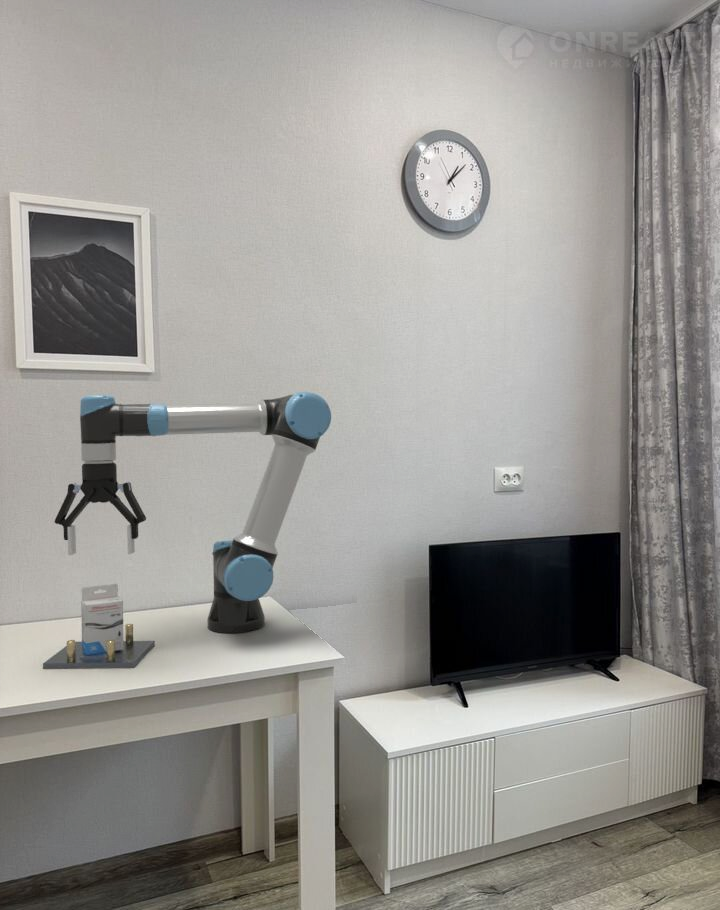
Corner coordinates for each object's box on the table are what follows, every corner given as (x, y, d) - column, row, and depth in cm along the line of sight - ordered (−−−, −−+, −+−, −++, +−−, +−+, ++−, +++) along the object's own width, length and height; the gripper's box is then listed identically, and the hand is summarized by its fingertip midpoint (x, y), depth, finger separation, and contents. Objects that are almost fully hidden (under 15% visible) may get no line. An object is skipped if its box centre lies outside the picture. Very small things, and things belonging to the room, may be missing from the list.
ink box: (85, 656, 156) (84, 591, 156) (81, 650, 160) (80, 587, 160) (124, 649, 161) (123, 586, 160) (119, 644, 165) (118, 583, 164)
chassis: (154, 645, 169) (154, 622, 168) (134, 667, 153) (133, 642, 152) (72, 646, 168) (71, 623, 168) (43, 668, 152) (42, 643, 152)
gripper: (157, 460, 164) (160, 549, 165) (51, 462, 164) (54, 551, 164) (149, 462, 157) (151, 555, 158) (37, 464, 156) (40, 557, 157)
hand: (101, 553), depth 161 cm, fingers open, 13 cm apart
